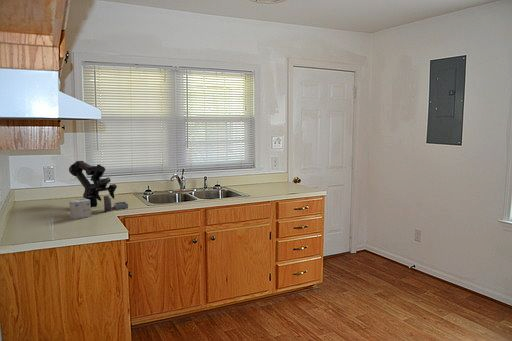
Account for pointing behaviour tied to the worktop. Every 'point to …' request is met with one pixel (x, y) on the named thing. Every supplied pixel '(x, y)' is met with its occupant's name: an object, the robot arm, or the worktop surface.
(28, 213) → the worktop surface
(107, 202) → the charger
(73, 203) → the light bulb box
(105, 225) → the worktop surface
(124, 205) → the charging dock
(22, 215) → the worktop surface
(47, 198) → the worktop surface
